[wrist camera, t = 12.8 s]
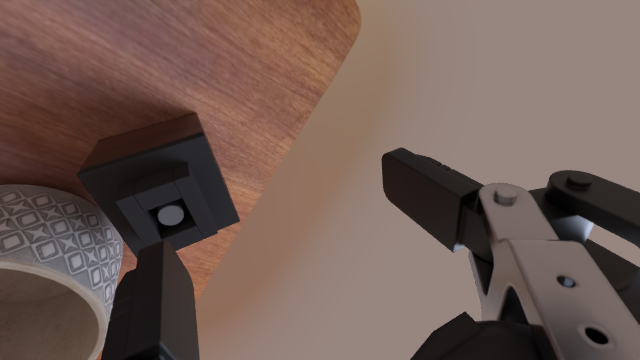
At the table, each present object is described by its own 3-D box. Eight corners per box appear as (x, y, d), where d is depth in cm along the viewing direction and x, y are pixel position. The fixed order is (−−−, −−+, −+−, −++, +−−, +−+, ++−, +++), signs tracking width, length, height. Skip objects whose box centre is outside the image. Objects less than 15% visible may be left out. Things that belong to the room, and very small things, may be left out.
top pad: (119, 184, 24) (114, 201, 22) (187, 161, 26) (189, 175, 23) (155, 240, 27) (154, 260, 25) (213, 216, 29) (218, 233, 26)
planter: (6, 145, 27) (-93, 214, 17) (156, 233, 37) (152, 311, 26) (-138, 265, 26) (-335, 415, 16) (55, 323, 36) (10, 439, 26)
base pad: (79, 169, 23) (66, 189, 20) (203, 131, 26) (207, 144, 23) (140, 255, 29) (137, 281, 26) (238, 215, 31) (245, 234, 28)
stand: (98, 139, 30) (79, 169, 23) (196, 111, 33) (203, 131, 26) (145, 214, 35) (140, 255, 29) (226, 184, 38) (238, 215, 31)
